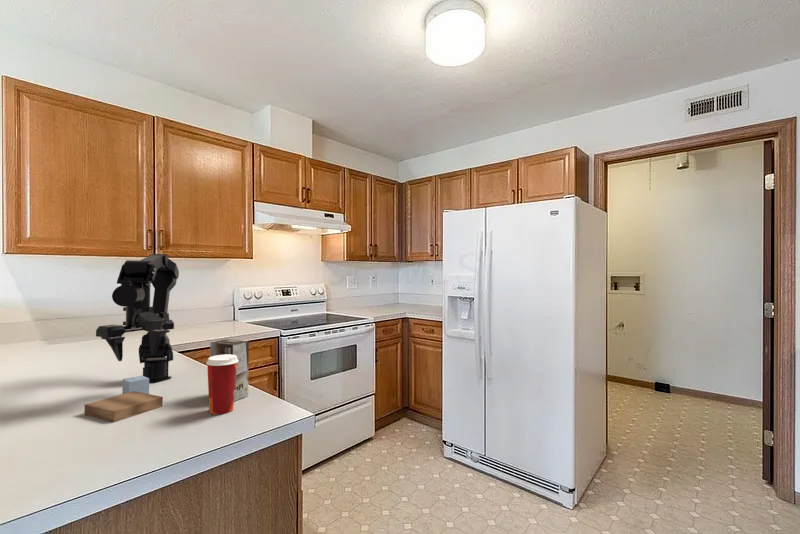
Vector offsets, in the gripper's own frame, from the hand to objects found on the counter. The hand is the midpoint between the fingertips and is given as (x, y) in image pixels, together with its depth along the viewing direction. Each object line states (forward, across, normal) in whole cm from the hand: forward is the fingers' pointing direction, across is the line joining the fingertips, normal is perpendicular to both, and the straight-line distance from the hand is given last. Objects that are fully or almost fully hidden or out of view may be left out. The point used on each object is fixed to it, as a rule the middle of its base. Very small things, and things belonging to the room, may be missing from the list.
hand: (137, 357), depth 109 cm
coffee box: (+12, +11, -24) cm, 29 cm away
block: (+11, +1, +1) cm, 12 cm away
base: (+11, -8, -8) cm, 16 cm away
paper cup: (+12, +2, -31) cm, 33 cm away
